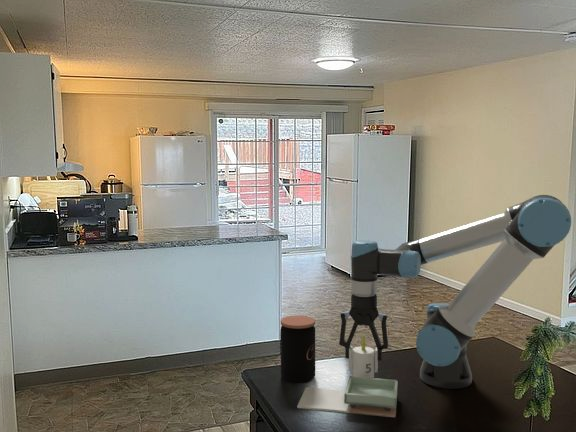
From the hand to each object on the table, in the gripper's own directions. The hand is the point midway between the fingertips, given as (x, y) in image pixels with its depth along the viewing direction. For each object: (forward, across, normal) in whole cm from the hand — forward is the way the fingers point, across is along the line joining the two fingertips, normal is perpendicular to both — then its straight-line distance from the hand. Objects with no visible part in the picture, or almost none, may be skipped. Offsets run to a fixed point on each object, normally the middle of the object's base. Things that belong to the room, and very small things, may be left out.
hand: (363, 369), depth 161 cm
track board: (+5, +3, +13) cm, 14 cm away
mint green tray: (+5, -3, +13) cm, 14 cm away
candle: (+5, 0, 0) cm, 5 cm away
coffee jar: (+5, +20, -1) cm, 21 cm away
